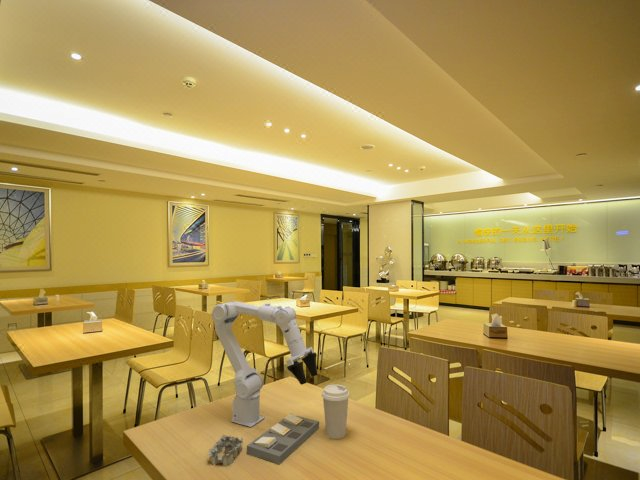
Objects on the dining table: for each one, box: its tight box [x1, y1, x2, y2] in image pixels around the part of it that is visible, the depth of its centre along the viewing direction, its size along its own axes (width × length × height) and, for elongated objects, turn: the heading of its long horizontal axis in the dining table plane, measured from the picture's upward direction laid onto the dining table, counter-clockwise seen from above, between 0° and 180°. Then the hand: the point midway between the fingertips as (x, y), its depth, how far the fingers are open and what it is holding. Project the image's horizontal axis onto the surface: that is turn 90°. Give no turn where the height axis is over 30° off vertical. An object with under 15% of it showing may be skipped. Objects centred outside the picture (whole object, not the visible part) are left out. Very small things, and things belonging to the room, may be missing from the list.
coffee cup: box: [321, 384, 351, 440], centre depth 118 cm, size 10×10×15 cm
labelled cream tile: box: [283, 413, 303, 426], centre depth 123 cm, size 5×4×1 cm
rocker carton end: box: [255, 437, 276, 448], centre depth 109 cm, size 5×4×1 cm
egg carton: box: [208, 434, 244, 467], centre depth 106 cm, size 11×8×4 cm
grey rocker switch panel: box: [246, 414, 320, 465], centre depth 115 cm, size 12×24×2 cm, turn 152°
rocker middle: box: [269, 422, 290, 437], centre depth 116 cm, size 5×4×1 cm
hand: (309, 379), depth 119 cm, fingers open, 7 cm apart
